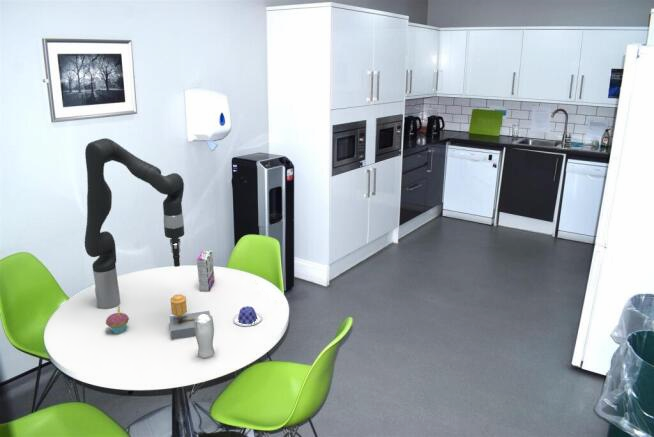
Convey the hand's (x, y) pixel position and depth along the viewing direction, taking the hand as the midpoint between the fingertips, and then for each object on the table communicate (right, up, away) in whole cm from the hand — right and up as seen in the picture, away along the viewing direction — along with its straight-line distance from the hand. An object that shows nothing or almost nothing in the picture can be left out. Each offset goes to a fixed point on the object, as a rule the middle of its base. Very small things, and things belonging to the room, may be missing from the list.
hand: (176, 261), depth 211 cm
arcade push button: (+2, -20, -3) cm, 20 cm away
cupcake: (-23, -28, 0) cm, 36 cm away
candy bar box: (+3, -15, +38) cm, 41 cm away
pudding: (+27, -25, +8) cm, 38 cm away
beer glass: (+16, -33, -16) cm, 40 cm away
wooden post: (+2, -24, -2) cm, 24 cm away
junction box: (+6, -27, +1) cm, 28 cm away
